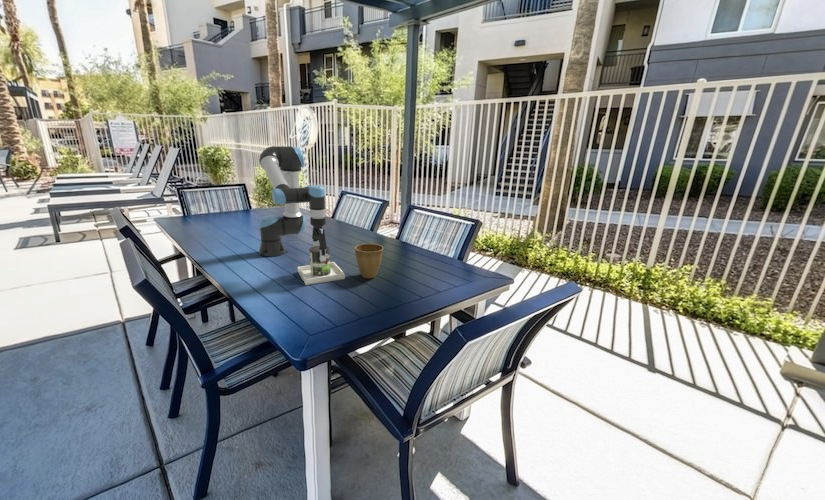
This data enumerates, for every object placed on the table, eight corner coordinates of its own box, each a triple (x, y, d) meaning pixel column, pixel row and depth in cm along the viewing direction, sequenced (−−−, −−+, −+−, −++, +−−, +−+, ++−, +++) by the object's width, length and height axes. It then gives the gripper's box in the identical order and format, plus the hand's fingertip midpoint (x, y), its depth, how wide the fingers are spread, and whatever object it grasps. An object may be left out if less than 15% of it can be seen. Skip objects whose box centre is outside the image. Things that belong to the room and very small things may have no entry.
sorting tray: (297, 272, 184) (297, 266, 183) (334, 266, 193) (334, 261, 192) (305, 285, 167) (305, 279, 166) (345, 279, 177) (345, 273, 176)
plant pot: (378, 282, 174) (378, 252, 169) (351, 279, 176) (350, 250, 171) (386, 272, 187) (386, 244, 183) (360, 269, 190) (360, 242, 185)
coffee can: (334, 273, 181) (333, 248, 177) (319, 279, 173) (317, 252, 169) (322, 269, 187) (321, 244, 183) (306, 274, 179) (304, 248, 175)
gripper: (305, 212, 180) (307, 250, 186) (316, 223, 159) (318, 265, 165) (319, 211, 183) (321, 249, 190) (332, 222, 162) (333, 263, 169)
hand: (319, 256), depth 178 cm, fingers open, 13 cm apart
